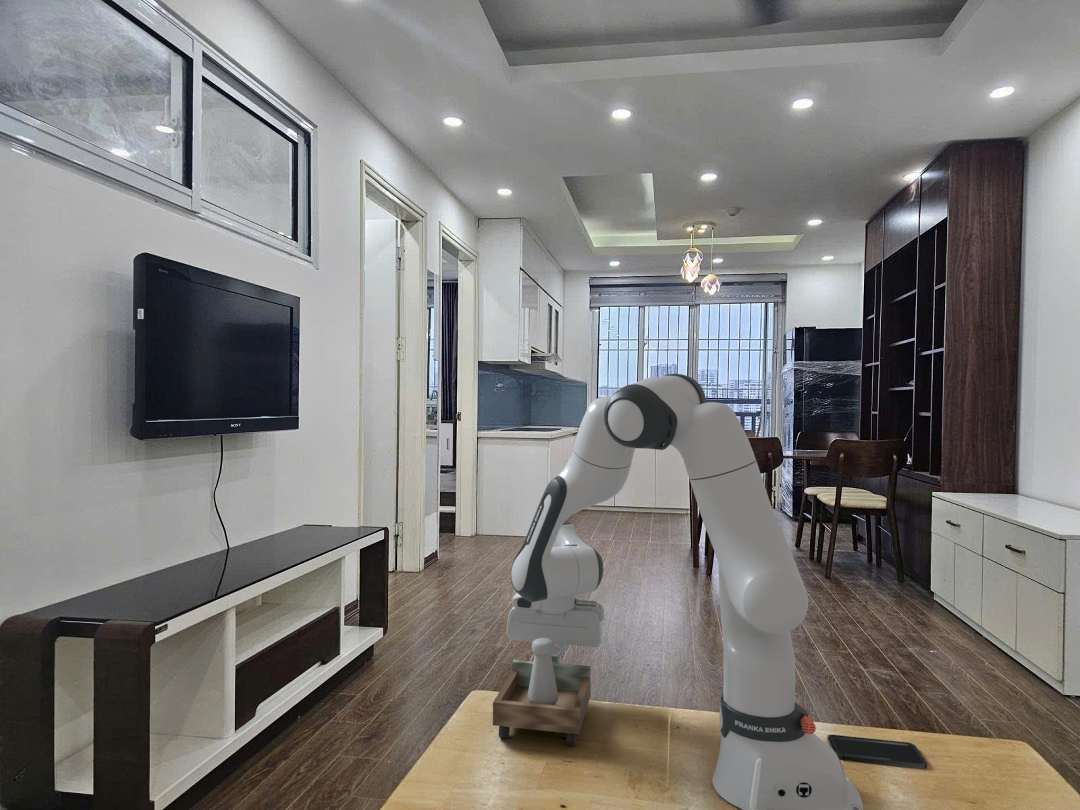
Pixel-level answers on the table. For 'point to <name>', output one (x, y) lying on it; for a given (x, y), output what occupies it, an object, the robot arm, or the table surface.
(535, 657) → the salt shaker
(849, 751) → the phone
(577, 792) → the table surface
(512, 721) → the open wooden tray
